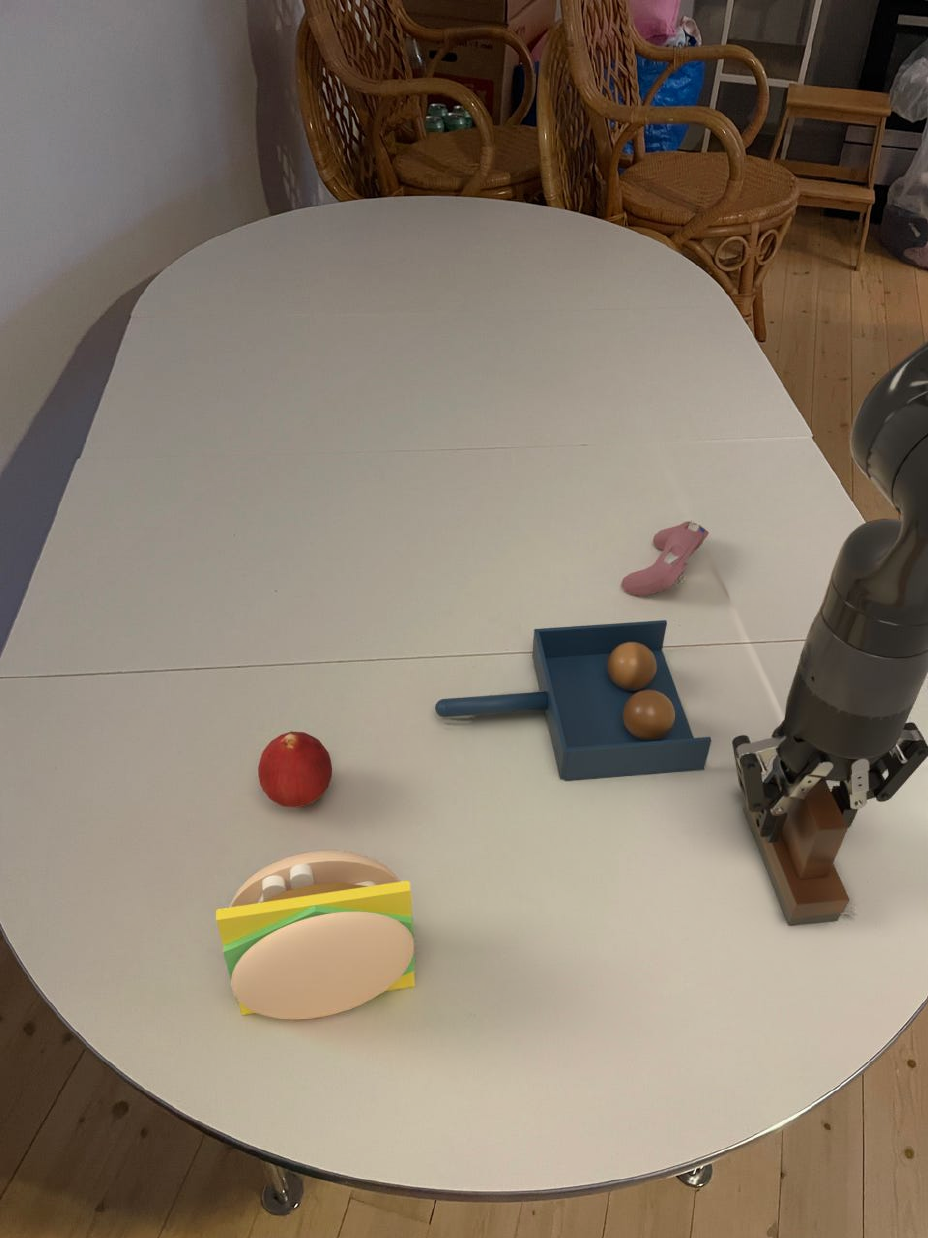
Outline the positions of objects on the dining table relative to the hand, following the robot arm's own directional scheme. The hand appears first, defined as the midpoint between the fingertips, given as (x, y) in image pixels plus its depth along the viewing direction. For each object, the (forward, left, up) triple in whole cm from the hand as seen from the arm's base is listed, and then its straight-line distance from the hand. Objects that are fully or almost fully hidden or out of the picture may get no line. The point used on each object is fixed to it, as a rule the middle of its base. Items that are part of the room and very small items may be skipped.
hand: (799, 830), depth 79 cm
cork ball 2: (+8, -14, -1) cm, 16 cm away
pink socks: (+1, -35, -4) cm, 35 cm away
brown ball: (+8, -20, -1) cm, 22 cm away
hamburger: (+36, +6, -4) cm, 37 cm away
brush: (0, 0, -4) cm, 4 cm away
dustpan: (+15, -17, -4) cm, 23 cm away
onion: (+38, -10, -4) cm, 40 cm away
